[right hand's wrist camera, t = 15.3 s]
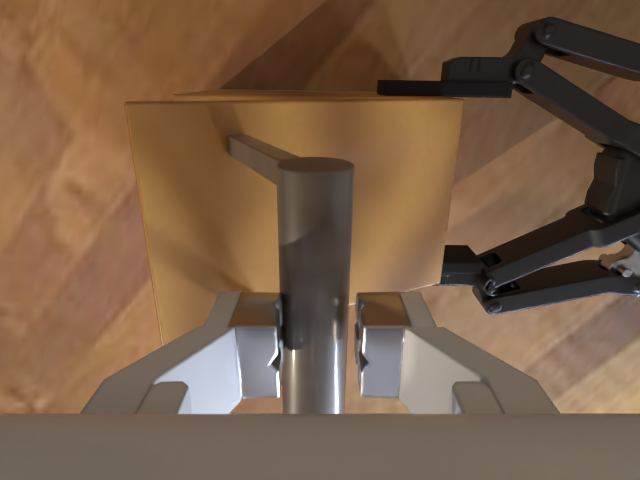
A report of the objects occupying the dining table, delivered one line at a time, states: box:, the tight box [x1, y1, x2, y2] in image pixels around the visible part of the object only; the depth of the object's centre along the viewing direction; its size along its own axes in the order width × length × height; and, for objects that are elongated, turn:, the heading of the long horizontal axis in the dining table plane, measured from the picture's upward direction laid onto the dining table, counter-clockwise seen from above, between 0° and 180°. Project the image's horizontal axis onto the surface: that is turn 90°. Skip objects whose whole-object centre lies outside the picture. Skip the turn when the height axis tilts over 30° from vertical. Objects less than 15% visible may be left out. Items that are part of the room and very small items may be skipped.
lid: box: [125, 98, 464, 414], centre depth 15 cm, size 14×9×8 cm, turn 88°
